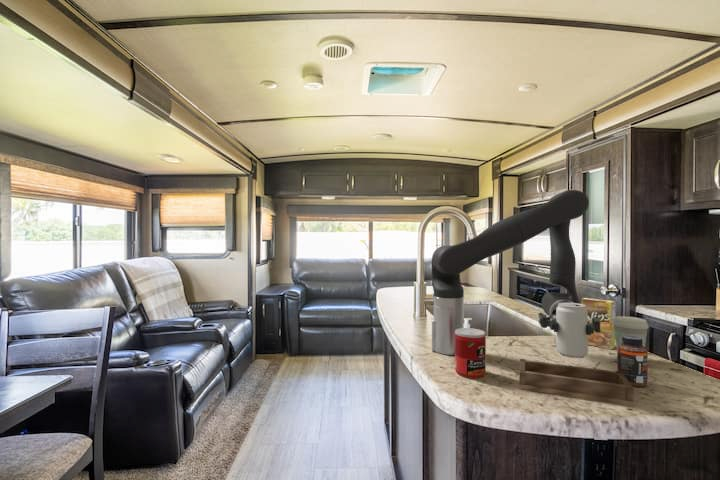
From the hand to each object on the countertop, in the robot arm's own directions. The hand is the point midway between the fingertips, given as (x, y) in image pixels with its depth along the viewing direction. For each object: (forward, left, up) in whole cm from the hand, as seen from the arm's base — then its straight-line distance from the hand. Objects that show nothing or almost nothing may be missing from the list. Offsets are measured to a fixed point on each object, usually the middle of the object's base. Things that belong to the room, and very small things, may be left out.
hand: (572, 329), depth 83 cm
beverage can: (0, +2, -7) cm, 7 cm away
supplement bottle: (+14, +12, -15) cm, 24 cm away
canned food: (-23, +2, -15) cm, 27 cm away
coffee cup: (+18, +33, -15) cm, 41 cm away
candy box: (+12, +46, -15) cm, 50 cm away
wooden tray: (0, +2, -14) cm, 15 cm away
